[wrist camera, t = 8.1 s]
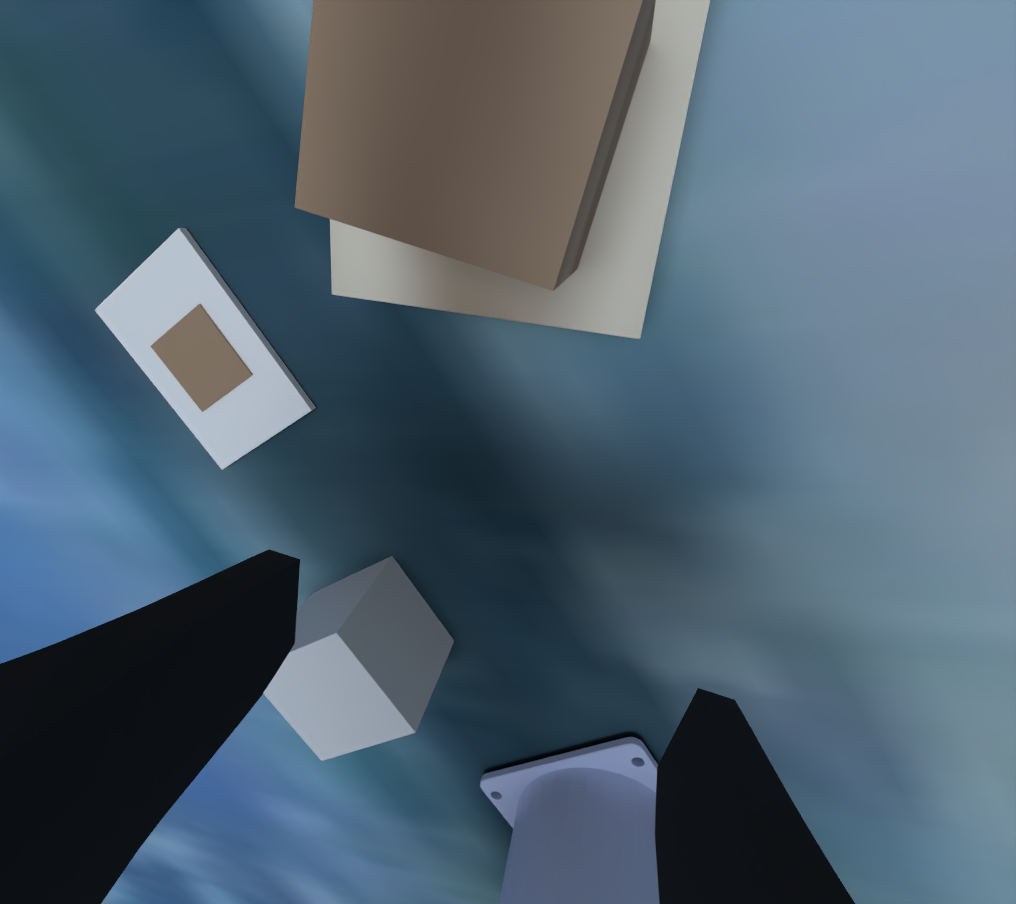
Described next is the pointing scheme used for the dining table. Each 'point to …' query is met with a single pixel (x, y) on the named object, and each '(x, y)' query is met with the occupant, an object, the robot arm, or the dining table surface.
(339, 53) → the walnut block
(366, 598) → the grey block
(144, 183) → the dining table surface
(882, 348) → the dining table surface
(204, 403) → the card
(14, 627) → the dining table surface
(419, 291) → the birch base block
